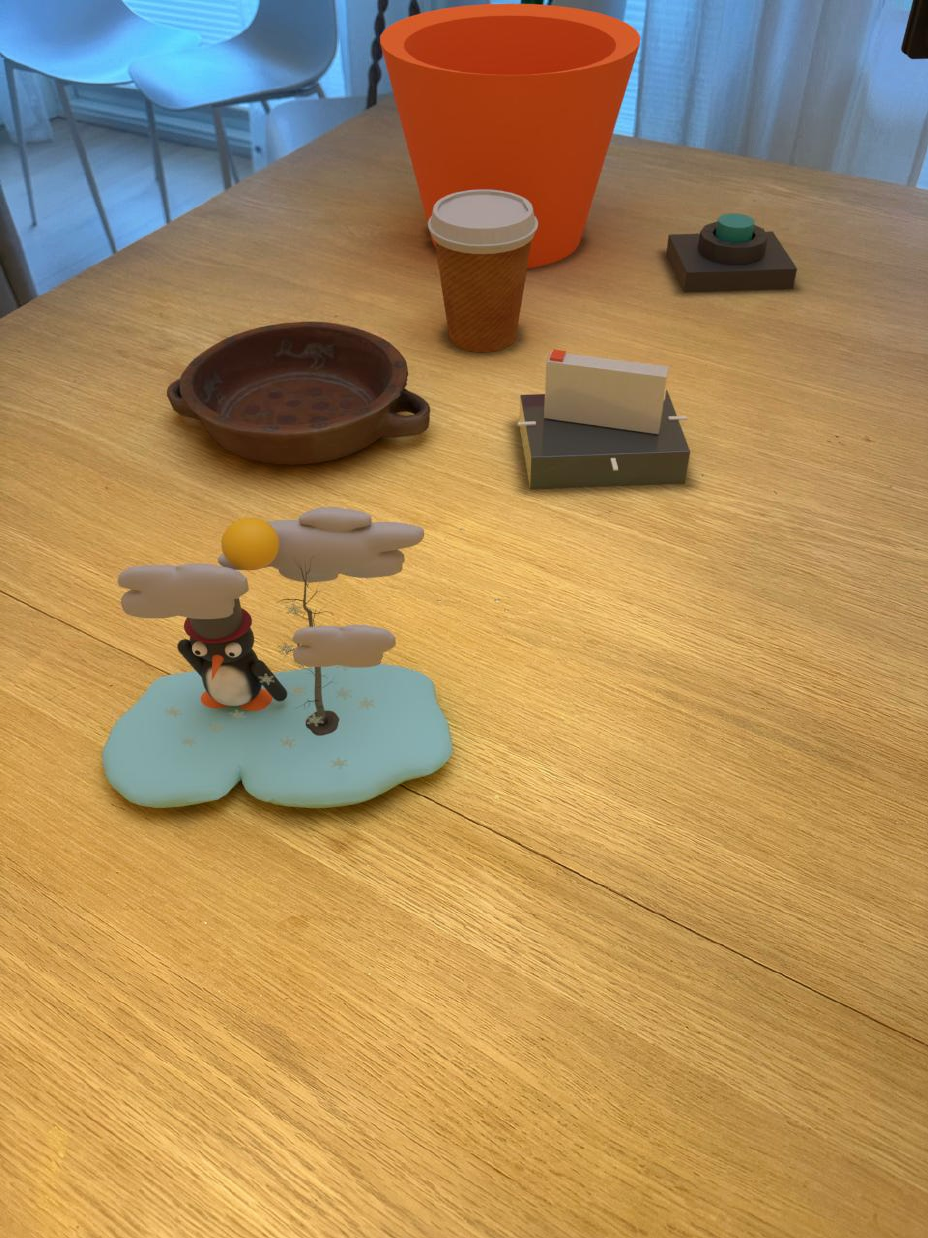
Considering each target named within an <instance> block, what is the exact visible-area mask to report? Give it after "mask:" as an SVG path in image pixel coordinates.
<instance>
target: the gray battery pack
mask: <svg viewBox="0 0 928 1238" xmlns="http://www.w3.org/2000/svg"><path fill="white" fill-rule="evenodd" d="M545 365H546V366H545V387H544V394H545V404H544V418H546V419H553V420H560V421H567V422H574V423H581V424H588V425H595V426H602V427H609V428H617V429H624V430H631V431H638V432H645V433H652V434H659V431H660V428H661V424H662V417H663V410H664V402H665V395H666V390H667V387H668V380H669V372H670V366H667V365H661V364H652V363H645V362H637V361H631V360H621V359H613V358H608V357H607V358H606V357H599V356H598V357H596V356H591V355H583V354H575V353H567V351H566V350H561V349H552V350H551V351H550V353H549V355H548V357H547V359H546V364H545Z"/></svg>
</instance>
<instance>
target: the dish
mask: <svg viewBox="0 0 928 1238" xmlns="http://www.w3.org/2000/svg"><path fill="white" fill-rule="evenodd" d="M408 377H409V368H408V364H407V360H406V358H405V357H404V355H403V354H402V353H401V351H400V350H399V349H397V348H396V347H395V346H394V345H393V344H392V343H391V342H389V341H387V340H386V339H384V338H382V337H380V336H378V335H376V334H374V333H372V332H369V331H367V330H363V329H360V328H357V327H353V326H349V325H344V324H340V323H334V322H328V321H295V322H294V321H293V322H282V323H281V322H280V323H277V324H269V325H264V326H259V327H256V328H252V329H247V330H244V331H242V332H238V333H235V334H233V335H231V336H228V337H226V338H224V339H222V340H220V341H218V342H216V343H215V344H213V345H211V346H210V347H208V348H207V349H205V350H204V351H203V352H201V353H200V354H198V355H197V356H196V357H194V359H193V360H191V362H190V363H189V364H188V365H187V366H186V368H185V369H184V370H183V372H182V373H181V375H180V377H179V378H177V379H176V380H174V381H173V382H171V383H170V384H169V386H167V389H166V397H167V399H168V401H169V403H170V406H171V407H172V410H173V411H174V412H175V413H177V414H178V415H180V416H183V417H187V418H191V419H195V420H197V421H198V420H199V421H200V422H201V423H202V424H203V427H204V428H205V429H206V431H207V432H208V434H209V435H210V437H212V439H214V441H215V442H216V443H217V444H219V445H220V446H221V447H222V448H223V449H226V450H227V451H229V452H231V453H233V454H234V455H237V456H240V457H242V458H244V459H247V460H251V461H255V462H258V463H259V462H261V463H268V464H275V465H289V466H290V465H308V464H315V463H321V462H327V461H328V462H329V461H333V460H337V459H341V458H345V457H347V456H351V455H352V454H354V453H357V452H360V451H361V450H363V449H366V448H367V447H369V446H370V445H372V444H374V443H375V442H377V441H378V440H379V439H381V438H403V437H413V436H417V435H421V434H423V433H424V432H426V431H427V430H428V429H429V426H430V421H431V406H430V404H429V403H428V401H427V400H426V399H424V398H423V397H422V396H420V395H419V394H416V393H415V392H412V391H410V390H408V389H407V388H406V387H407V385H408ZM399 413H410V414H408V415H403V414H402V415H401V414H399Z"/></svg>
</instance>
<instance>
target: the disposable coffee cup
mask: <svg viewBox="0 0 928 1238" xmlns="http://www.w3.org/2000/svg"><path fill="white" fill-rule="evenodd" d="M427 227H428V231H429V233H430V232H431V234H430V236H431V235H432V237H433V239H434V241H435V246H434V248H435V247H436V248H435V253H436V260H437V267H438V273H439V280H440V286H441V293H442V299H443V300H442V301H443V306H444V313H445V318H446V325H447V331H448V338H449V340H450V342H451V343H452V345H454V346H455V347H457V348H459V349H460V350H464V351H468V352H472V353H492V352H498V351H501V350H504V349H507V348H509V347H510V346H511V345H513V344H514V343H515V342H516V339H517V333H518V328H519V321H520V314H521V308H522V303H523V295H524V290H525V283H526V277H527V272H528V268H527V266H528V259H529V253H530V247H531V240H532V239H533V237H534V234H535V231H536V230H537V228H538V221H537V218H536V217H535V216H534V212H533V207H532V204H531V203H530V202H529V201H528V200H527V199H525V198H523V197H521V196H519V195H516V194H513V193H510V192H505V191H498V190H468V191H462V192H457V193H453V194H450V195H448V196H445V197H443V198H441V199H440V200H439V201H437V202H436V204H435V205H434V208H433V212H432V216H431V217H430V219H429V221H428V223H427Z"/></svg>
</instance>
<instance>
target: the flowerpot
mask: <svg viewBox="0 0 928 1238" xmlns="http://www.w3.org/2000/svg"><path fill="white" fill-rule="evenodd" d="M379 37H380V38H379V44H380V48H381V51H382V56H383V60H384V64H385V67H386V71H387V74H388V78H389V81H390V86H391V90H392V93H393V97H394V101H395V104H396V109H397V113H398V116H399V119H400V123H401V127H402V132H403V135H404V139H405V144H406V147H407V150H408V154H409V158H410V162H411V166H412V169H413V173H414V177H415V180H416V181H415V182H416V185H417V189H418V192H419V196H420V200H421V204H422V208H423V211H424V215H425V219H426V223H427V224H428V221H429V219H430V217H431V216H432V212H433V208H434V205H435V204H436V202H437V201H439V200H440V199H441V198H443V197H445V196H448V195H450V194H453V193H457V192H462V191H468V190H498V191H505V192H510V193H513V194H516V195H519V196H521V197H523V198H525V199H527V200H528V201H529V202H530V203H531V204H532V207H533V212H534V216H535V217H536V218H537V221H538V228H537V230H536V231H535V234H534V237H533V239H532V240H531V247H530V253H529V259H528V266H527V269H533V268H538V267H542V266H546V265H547V266H548V265H550V264H554V263H557V262H559V261H561V260H563V259H565V258H567V257H569V256H570V255H572V253H574V252H575V251H576V250H577V248H578V247H579V246H580V243H581V239H582V236H583V233H584V229H585V226H586V223H587V220H588V217H589V213H590V211H591V210H590V209H591V207H592V203H593V200H594V197H595V193H596V190H597V187H598V184H599V180H600V177H601V174H602V170H603V167H604V164H605V160H606V157H607V155H608V154H607V153H608V150H609V147H610V144H611V141H612V137H613V134H614V130H615V127H616V124H617V121H618V118H619V114H620V111H621V108H622V106H623V105H622V104H623V101H624V98H625V95H626V91H627V88H628V85H629V80H630V79H631V75H632V71H633V68H634V65H635V62H636V59H637V55H638V52H639V48H640V45H641V35H640V33H639V32H638V31H637V29H636V28H634V27H633V26H632V25H631V24H628V23H627V22H625V21H623V20H621V19H619V18H616V17H614V16H610V15H607V14H604V13H601V12H596V11H591V10H586V9H582V8H575V7H569V6H563V5H562V6H561V5H552V4H551V5H550V4H538V3H484V4H471V5H460V6H452V7H445V8H440V9H434V10H430V11H424V12H421V13H417V14H414V15H411V16H408V17H405V18H402V19H400V20H398V21H395V22H394V23H392V24H390V25H389V26H387V27H386V28H385V29H384V30H383V31H382V33H381V34H380V36H379ZM429 233H430V238H431V242H432V244H433V247H434V248H435V249H436V247H435V241H434V239H433V237H432V235H431V232H430V231H429Z"/></svg>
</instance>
